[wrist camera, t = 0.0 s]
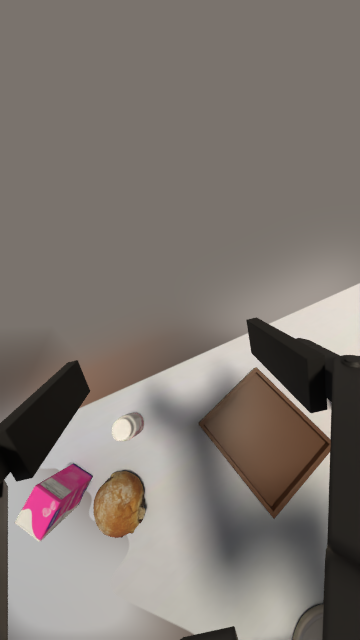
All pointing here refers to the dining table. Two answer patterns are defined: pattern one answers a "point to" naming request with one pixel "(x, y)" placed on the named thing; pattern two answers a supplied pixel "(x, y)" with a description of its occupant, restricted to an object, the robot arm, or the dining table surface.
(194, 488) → the dining table surface
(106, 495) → the bread roll
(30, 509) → the supplement box
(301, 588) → the dining table surface
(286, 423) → the tray
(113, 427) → the pill bottle
